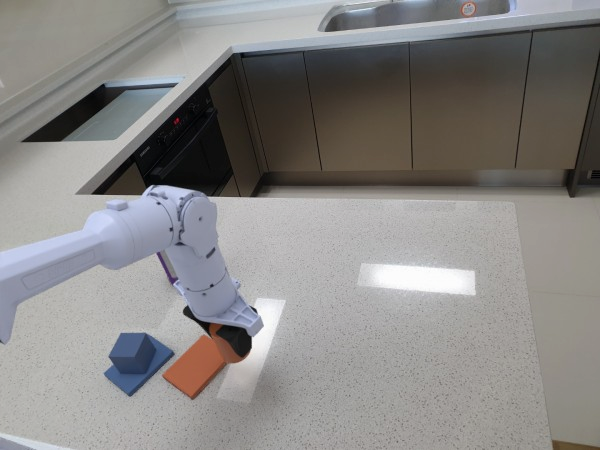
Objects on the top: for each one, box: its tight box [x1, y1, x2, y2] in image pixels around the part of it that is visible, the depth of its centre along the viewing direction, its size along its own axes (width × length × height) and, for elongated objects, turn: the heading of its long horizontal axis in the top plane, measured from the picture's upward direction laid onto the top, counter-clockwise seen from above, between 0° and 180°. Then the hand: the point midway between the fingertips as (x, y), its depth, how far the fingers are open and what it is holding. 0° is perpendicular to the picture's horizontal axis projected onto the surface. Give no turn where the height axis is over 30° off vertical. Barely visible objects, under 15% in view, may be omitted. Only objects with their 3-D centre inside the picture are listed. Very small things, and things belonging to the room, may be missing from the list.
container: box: [155, 249, 179, 288], centre depth 84 cm, size 5×5×15 cm
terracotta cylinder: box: [209, 323, 252, 365], centre depth 63 cm, size 4×4×6 cm
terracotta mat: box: [161, 333, 228, 400], centre depth 72 cm, size 9×7×1 cm
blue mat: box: [103, 333, 175, 397], centre depth 74 cm, size 9×7×1 cm
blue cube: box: [107, 332, 156, 374], centre depth 72 cm, size 4×4×4 cm
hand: (233, 344), depth 64 cm, fingers closed on terracotta cylinder, 4 cm apart
